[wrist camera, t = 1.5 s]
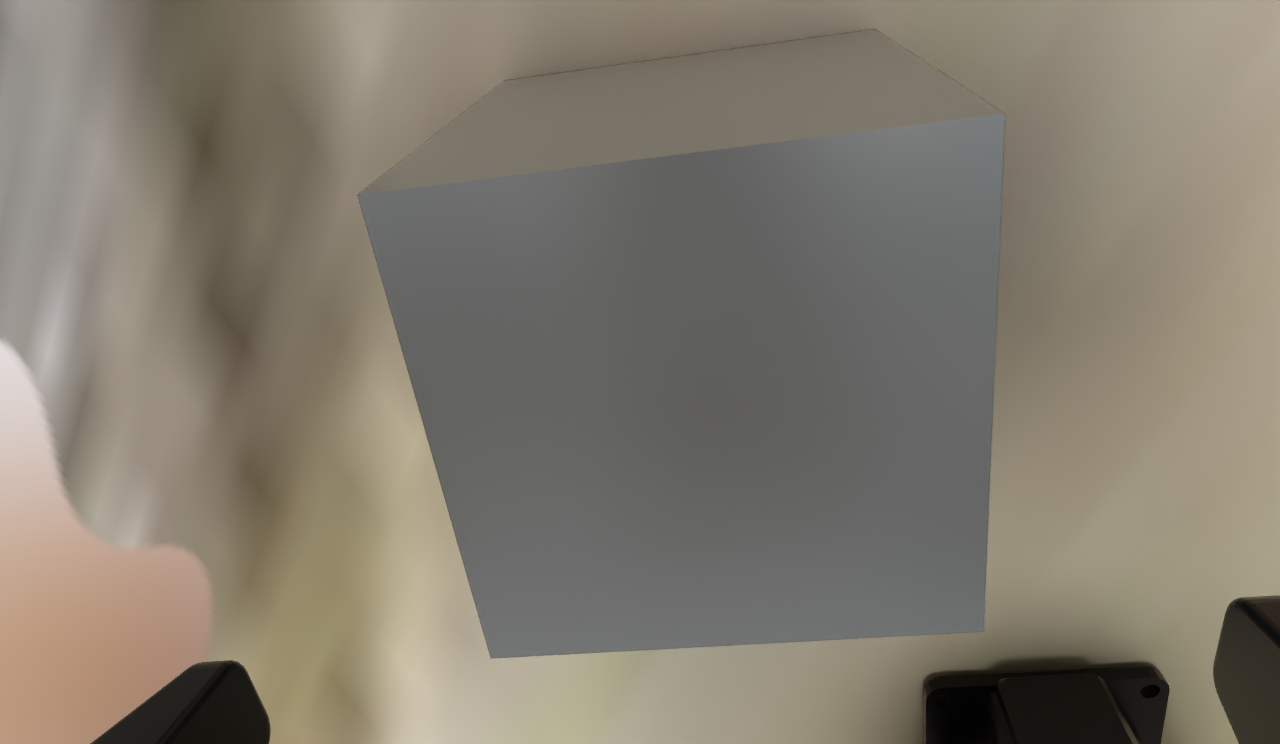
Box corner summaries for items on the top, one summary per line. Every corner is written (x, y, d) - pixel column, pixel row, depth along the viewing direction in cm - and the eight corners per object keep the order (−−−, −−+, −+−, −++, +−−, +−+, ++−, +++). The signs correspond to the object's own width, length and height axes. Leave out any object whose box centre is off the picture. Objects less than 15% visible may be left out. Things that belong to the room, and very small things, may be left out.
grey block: (882, 369, 21) (983, 631, 13) (568, 397, 22) (491, 658, 14) (875, 28, 18) (1005, 113, 10) (504, 80, 19) (357, 194, 11)
